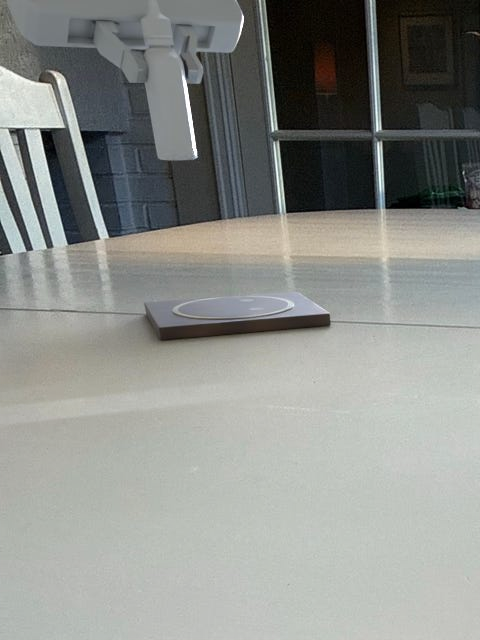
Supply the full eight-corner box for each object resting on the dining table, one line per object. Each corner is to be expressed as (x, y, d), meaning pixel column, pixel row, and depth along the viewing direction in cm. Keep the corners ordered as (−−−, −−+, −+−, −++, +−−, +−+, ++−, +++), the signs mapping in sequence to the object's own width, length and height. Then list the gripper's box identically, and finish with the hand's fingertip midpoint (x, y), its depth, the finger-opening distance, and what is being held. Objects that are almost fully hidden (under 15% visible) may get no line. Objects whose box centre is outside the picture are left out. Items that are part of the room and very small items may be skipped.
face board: (160, 340, 72) (158, 325, 71) (146, 314, 81) (143, 300, 81) (331, 325, 77) (329, 311, 76) (298, 302, 86) (296, 289, 86)
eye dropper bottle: (211, 157, 85) (188, 2, 78) (190, 160, 80) (164, -5, 74) (165, 158, 85) (140, 3, 79) (142, 161, 80) (113, -4, 74)
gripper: (-26, -101, 71) (52, 40, 70) (207, -72, 83) (277, 49, 82) (-28, -26, 76) (45, 107, 75) (192, -9, 88) (258, 106, 87)
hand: (168, 77), depth 79 cm, fingers closed on eye dropper bottle, 4 cm apart
